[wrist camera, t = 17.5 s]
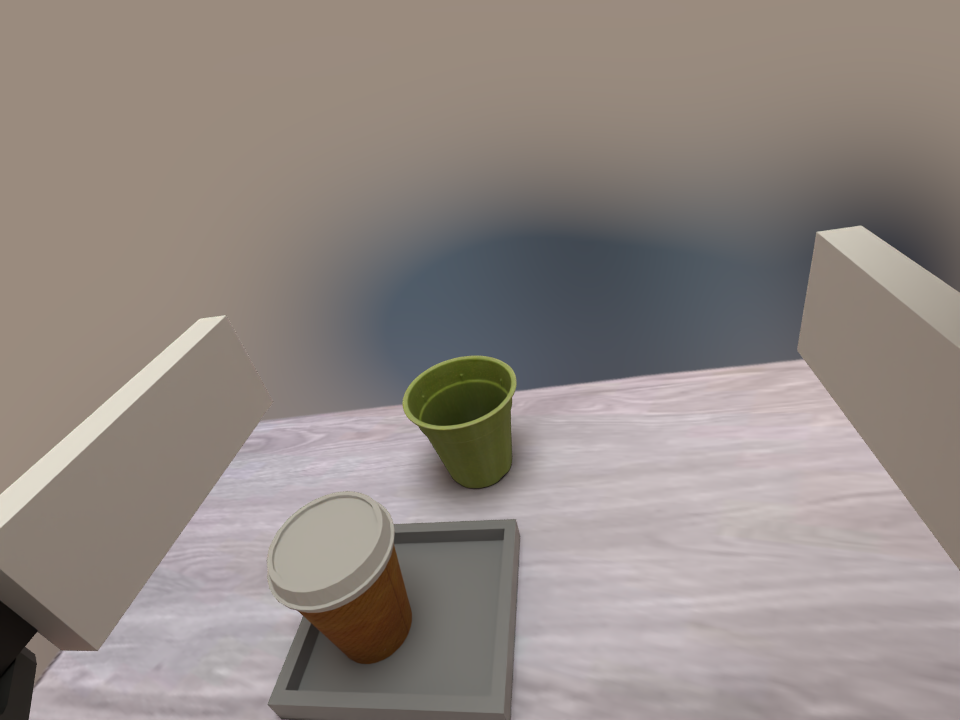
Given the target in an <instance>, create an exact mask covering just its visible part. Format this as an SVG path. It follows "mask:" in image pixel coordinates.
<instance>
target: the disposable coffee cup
mask: <svg viewBox="0 0 960 720" xmlns="http://www.w3.org/2000/svg"><path fill="white" fill-rule="evenodd" d="M394 535H395V532H394V524H393V521H392V518H391V516H390V514H389V512H388V511H387V509H385V508H384V507H383V506H382V505H381V504H379V503H378V502H376V501H374V500H373V499H372V498H370V497H369V496H367V495H364V494H361V493H358V492H350V491H345V492H336V493H332V494H329V495H325V496H323V497H320V498H318V499H315V500H314V501H312V502H310V503H308V504H307V505H305V506H303V507H302V508H300V509H299V510H298V511H297V512H295V513H294V514H293V515H292V516H291V517H290V518H288V519H287V521H286V522H285V523H284V524H283V525H282V527H281V528H280V529H279V530H278V531H277V533H276V535H275V537H274V539H273V541H272V543H271V545H270V547H269V552H268V557H267V568H268V574H267V579H268V584H269V588H270V590H271V592H272V594H273V596H274V597H275V598H276V599H277V600H278V602H280V603H281V604H283V605H285V606H286V607H288V608H290V609H294V610H297V611H298V612H300V613H301V614H302V615H303V616H304V617H305V618H306V619H307V620H308V621H309V622H310V623H312V624H313V625H314V626H315V627H316V628H317V629H318V630H319V631H320V632H321V633H322V634H324V635H325V636H326V637H327V638H328V639H329V640H330V641H331V642H332V643H333V644H334V645H335V646H337V647H338V648H339V649H340V650H341V651H342V652H343V653H344V654H345V655H346V656H347V657H348V658H349V659H351V660H353V661H355V662H356V663H360V664H372V663H377V662H379V661H382V660H384V659H386V658H387V657H389V656H391V655H392V654H393V653H394V652H395V651H396V650H397V649H398V648H399V647H400V646H401V645H402V644H403V642H404V641H405V639H406V637H407V635H408V633H409V630H410V628H411V623H412V611H411V607H410V604H409V600H408V596H407V592H406V588H405V584H404V580H403V577H402V573H401V569H400V565H399V562H398V558H397V554H396V550H395V546H394Z"/></svg>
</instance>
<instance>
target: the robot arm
mask: <svg viewBox="0 0 960 720" xmlns="http://www.w3.org/2000/svg"><path fill="white" fill-rule="evenodd" d="M797 350H798V352H799V353H800V355H801V356H802V357H803V359H804V360H805V361H806V363H807V364H808V365H809V367H810V368H811V369H812V371H813V372H814V374H815V375H816V376H817V378H818V379H819V380H820V382H821V383H822V384H823V386H824V387H825V388H826V390H827V391H828V393H829V394H830V395H831V397H832V398H833V399H834V401H835V402H836V403H837V405H838V406H839V407H840V409H841V410H842V411H843V413H844V414H845V416H846V417H847V418H848V420H849V421H850V422H851V424H852V425H853V426H854V428H855V429H856V430H857V432H858V433H859V435H860V436H861V437H862V439H863V440H864V441H865V443H866V444H867V445H868V447H869V448H870V449H871V451H872V452H873V454H874V455H875V456H876V458H877V459H878V460H879V462H880V463H881V464H882V466H883V467H884V468H885V470H886V471H887V472H888V474H889V475H890V477H891V478H892V479H893V481H894V482H895V483H896V485H897V486H898V487H899V489H900V490H901V491H902V493H903V494H904V496H905V497H906V498H907V500H908V501H909V502H910V504H911V505H912V506H913V508H914V509H915V510H916V512H917V513H918V515H919V516H920V517H921V519H922V520H923V521H924V523H925V524H926V525H927V527H928V528H929V529H930V531H931V532H932V534H933V535H934V536H935V538H936V539H937V540H938V542H939V543H940V544H941V546H942V547H943V548H944V550H945V551H946V552H947V554H948V555H949V557H950V558H951V559H952V561H953V562H954V563H955V565H956V566H957V567H958V569H959V570H960V293H959V292H958V291H956V290H955V289H953V288H952V287H950V286H949V285H947V284H946V283H944V282H943V281H942V280H940V279H938V278H937V277H936V276H934V275H933V274H931V273H930V272H928V271H927V270H925V269H924V268H923V267H921V266H920V265H918V264H917V263H915V262H914V261H912V260H911V259H909V258H908V257H906V256H905V255H903V254H902V253H900V252H899V251H898V250H896V249H895V248H893V247H892V246H890V245H889V244H887V243H886V242H884V241H883V240H881V239H880V238H878V237H877V236H876V235H874V234H873V233H871V232H870V231H868V230H866V229H865V228H864V227H862V226H856V227H849V228H842V229H835V230H828V231H820V232H817V233H816V239H815V246H814V251H813V257H812V264H811V270H810V276H809V282H808V288H807V294H806V300H805V306H804V312H803V318H802V325H801V330H800V336H799V342H798V349H797ZM272 403H273V401H272V398H271V397H270V395H269V393H268V391H267V389H266V387H265V386H264V384H263V382H262V380H261V378H260V376H259V375H258V373H257V371H256V369H255V367H254V365H253V363H252V362H251V360H250V358H249V356H248V354H247V352H246V351H245V349H244V347H243V345H242V343H241V341H240V340H239V338H238V336H237V334H236V332H235V330H234V328H233V327H232V325H231V323H230V321H229V319H228V317H227V316H226V315H225V316H218V317H211V318H204V319H199V320H198V321H197V322H196V323H195V324H193V325H192V326H191V327H190V328H189V329H188V330H187V331H186V332H184V333H183V334H182V335H181V336H180V337H179V338H178V339H176V340H175V341H174V342H173V343H172V344H171V345H170V346H168V347H167V348H166V349H165V350H164V351H163V352H162V353H161V354H160V355H158V356H157V357H156V358H155V359H154V360H153V361H152V362H150V363H149V364H148V365H147V366H146V367H145V368H144V369H142V370H141V371H140V372H139V373H138V374H137V375H136V376H134V377H133V378H132V379H131V380H130V381H129V382H128V383H126V384H125V385H124V386H123V387H122V388H121V389H120V390H119V391H117V392H116V393H115V394H114V395H113V396H112V397H111V398H110V399H108V400H107V401H106V402H105V403H104V404H103V405H102V406H101V407H99V408H98V409H97V410H96V411H95V412H94V413H93V414H91V415H90V416H89V417H88V418H87V419H86V420H85V421H83V422H82V423H81V424H80V425H79V426H78V427H77V428H75V429H74V430H73V431H72V432H71V433H70V434H69V435H67V436H66V437H65V438H64V439H63V440H62V441H61V442H60V443H58V445H56V446H55V447H54V448H53V449H52V450H50V451H49V452H48V453H47V454H46V455H45V456H44V457H43V458H42V459H40V460H39V461H38V462H37V463H36V464H35V465H33V466H32V467H31V468H30V469H29V470H28V471H27V472H26V473H24V474H23V475H22V476H21V477H20V478H19V479H18V480H16V481H15V482H14V483H13V484H12V485H11V486H10V487H8V488H7V489H6V490H5V491H4V492H3V493H2V494H1V495H0V720H29V714H30V707H31V700H32V693H33V686H34V678H35V672H36V665H37V663H36V657H35V654H34V653H32V652H31V651H30V650H28V649H27V648H26V647H25V646H26V645H27V643H28V642H29V641H30V640H31V639H32V637H33V636H34V635H35V634H36V633H37V632H39V633H40V634H41V635H43V636H44V637H45V638H46V639H47V640H49V641H50V642H51V643H53V644H54V645H55V646H56V647H58V648H59V649H60V650H67V651H98V650H99V649H100V647H101V646H102V644H103V643H104V642H105V640H106V639H107V637H108V636H109V635H110V633H111V632H112V630H113V629H114V627H115V626H116V625H117V623H118V622H119V620H120V619H121V617H122V616H123V615H124V613H125V612H126V610H127V609H128V608H129V606H130V605H131V603H132V602H133V600H134V599H135V598H136V596H137V595H138V593H139V592H140V591H141V589H142V588H143V586H144V585H145V583H146V582H147V581H148V579H149V578H150V576H151V575H152V573H153V572H154V571H155V569H156V568H157V566H158V565H159V564H160V562H161V561H162V559H163V558H164V556H165V555H166V554H167V552H168V551H169V549H170V548H171V547H172V545H173V544H174V542H175V541H176V539H177V538H178V537H179V535H180V534H181V532H182V531H183V529H184V528H185V527H186V525H187V524H188V522H189V521H190V520H191V518H192V517H193V515H194V514H195V512H196V511H197V510H198V508H199V507H200V505H201V504H202V503H203V501H204V500H205V498H206V497H207V495H208V494H209V493H210V491H211V490H212V488H213V487H214V485H215V484H216V483H217V481H218V480H219V478H220V477H221V476H222V474H223V473H224V471H225V470H226V468H227V467H228V466H229V464H230V463H231V461H232V460H233V458H234V457H235V456H236V454H237V453H238V451H239V450H240V449H241V447H242V446H243V444H244V443H245V441H246V440H247V439H248V437H249V436H250V434H251V433H252V432H253V430H254V429H255V427H256V426H257V424H258V423H259V422H260V420H261V419H262V417H263V416H264V414H265V413H266V411H267V410H268V409H269V407H270V406H271V405H272Z"/></svg>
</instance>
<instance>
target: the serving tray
mask: <svg viewBox="0 0 960 720" xmlns="http://www.w3.org/2000/svg"><path fill="white" fill-rule="evenodd" d="M394 532H395V535H394V546H395V550H396V554H397V558H398V562H399V565H400V569H401V573H402V577H403V580H404V584H405V588H406V592H407V596H408V600H409V604H410V607H411V611H412V623H411V628H410V630H409V633H408V635H407V637H406V639H405V641H404V642H403V644H402V645H401V646H400V647H399V648H398V649H397V650H396V651H395V652H394V653H393V654H392V655H391V656H389V657H387V658H386V659H384V660H382V661H379V662H377V663H372V664H360V663H356V662H355V661H353V660H351V659H349V658H348V657H347V656H346V655H345V654H344V653H343V652H342V651H341V650H340V649H339V648H338V647H337V646H335V645H334V644H333V643H332V642H331V641H330V640H329V639H328V638H327V637H326V636H325V635H324V634H322V633H321V632H320V631H319V630H318V629H317V628H316V627H315V626H314V625H313V624H312V623H310V622H309V621H308V620H307V619H306V618H305V617H304V616H303V618H302V621H301V623H300V625H299V628H298V630H297V633H296V635H295V638H294V640H293V643H292V645H291V648H290V650H289V653H288V655H287V658H286V660H285V663H284V665H283V667H282V670H281V672H280V675H279V677H278V680H277V682H276V685H275V687H274V690H273V692H272V695H271V697H270V700H269V702H268V706H269V707H270V708H271V709H272V710H273V711H274V712H275V713H276V714H277V715H278V716H279V717H280V718H281V719H291V720H510V717H511V698H512V679H513V661H514V642H515V623H516V604H517V585H518V567H519V548H520V534H519V530H518V526H517V522H516V519H508V520H484V521H460V522H436V523H411V524H394Z"/></svg>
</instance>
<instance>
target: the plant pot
mask: <svg viewBox="0 0 960 720" xmlns="http://www.w3.org/2000/svg"><path fill="white" fill-rule="evenodd" d="M515 388H516V376H515V374H514V372H513V370H512V369H511V367H509V366H508V365H507V364H506V363H504V362H502V361H500V360H498V359H495V358H491V357H485V356H465V357H459V358H454V359H450V360H447V361H444V362H441V363H439V364H437V365H435V366H433V367H431V368H429V369H428V370H426V371H424V372H423V373H422V374H420V375H419V376H418V377H417V378H416V379H415V380H414V381H413V382H412V383H411V384H410V386H409V387H408V389H407V390H406V392H405V394H404V398H403V409H404V412H405V414H406V416H407V417H408V418H409V420H410V421H412V422H413V423H414V424H416V425H418V426H419V428H420V430H421V431H422V432H423V433H424V434H425V435H426V436H427V437H428V439H429V441H430V442H431V444H432V445H433V447H434V449H435V450H436V452H437V454H438V455H439V457H440V458H441V460H442V462H443V463H444V465H445V467H446V468H447V470H448V472H449V473H450V475H451V476H452V478H453V479H454V480H455V481H456V482H458V483H459V484H461V485H463V486H464V487H468V488H483V487H487V486H490V485H492V484H494V483H496V482H498V481H499V480H500V478H501V477H502V476H503V475H505V474H506V473H507V472H508V471H509V469H510V467H511V463H512V444H511V407H512V396H513V394H514V392H515Z"/></svg>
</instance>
